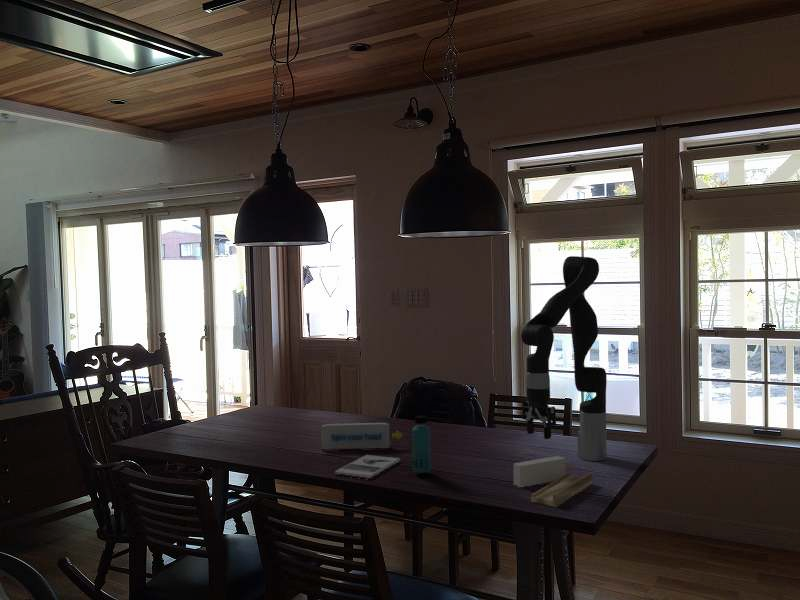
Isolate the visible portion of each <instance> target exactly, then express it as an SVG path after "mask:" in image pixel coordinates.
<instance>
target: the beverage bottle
mask: <svg viewBox="0 0 800 600" xmlns="http://www.w3.org/2000/svg"><path fill="white" fill-rule="evenodd" d="M427 418H428V417H427V416H426V415H416V416H414V423H415V424H417V425H414V426H413V427H412V429H411V431H412V432H411V434H412V439H411V445H412V456H411V457H412V461H411V462H412V470H413V472H416V473H429V472H431V470H432V456H431V455H432V453H431V452H432V450H431V428H430V427H429V426H428V425H425V424H426V423H428V419H427Z"/></svg>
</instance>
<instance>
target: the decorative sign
mask: <svg viewBox="0 0 800 600" xmlns="http://www.w3.org/2000/svg"><path fill="white" fill-rule="evenodd" d="M320 435H321V436H320V439H321V441H320V443H321V444H320V445H321V450H322V449H331V448H333V449H335V448H336V449H337V448H387V449H389V448H390V445H391V444H390V424H389V423H387V422H366V423H365V422H364V423H363V422H362V423H361V422H360V423H357V422H356V423H326V424H323V425H321V428H320ZM391 437H392V438H396V440H399V439H401V437H403V433H402V432H400V431H397V430H396V433H392V434H391Z"/></svg>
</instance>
